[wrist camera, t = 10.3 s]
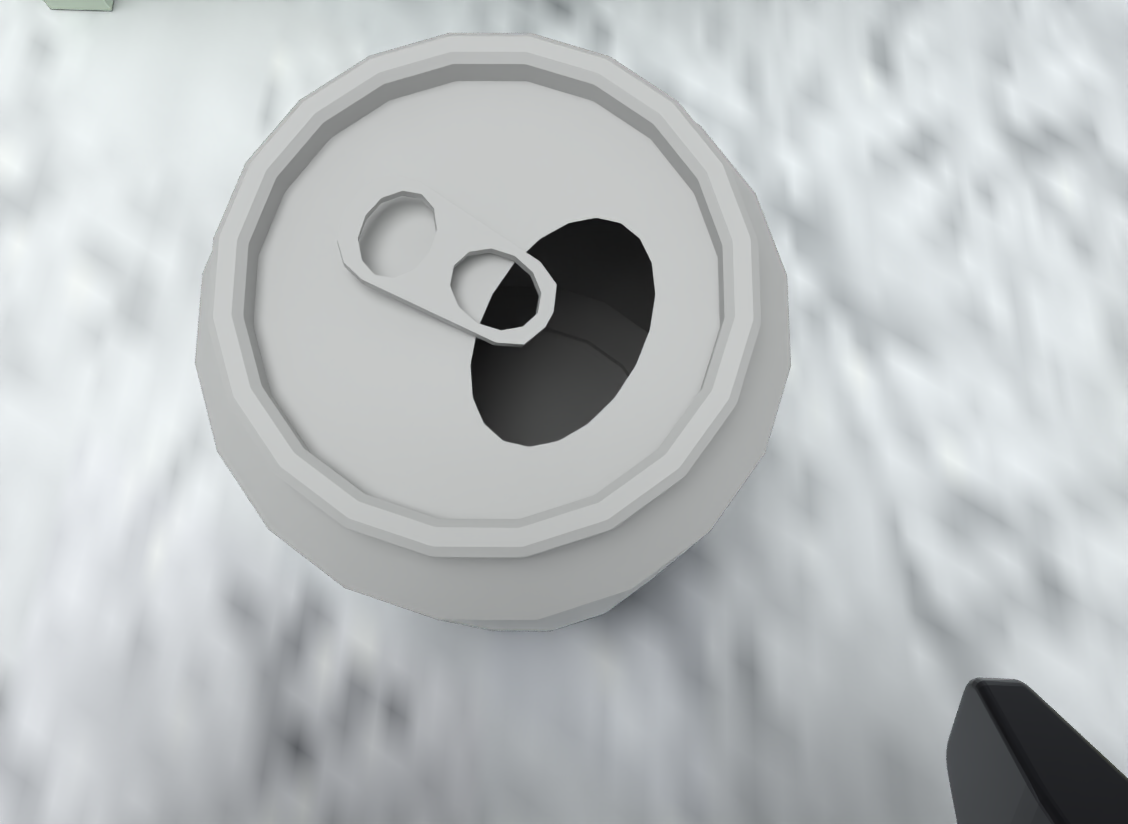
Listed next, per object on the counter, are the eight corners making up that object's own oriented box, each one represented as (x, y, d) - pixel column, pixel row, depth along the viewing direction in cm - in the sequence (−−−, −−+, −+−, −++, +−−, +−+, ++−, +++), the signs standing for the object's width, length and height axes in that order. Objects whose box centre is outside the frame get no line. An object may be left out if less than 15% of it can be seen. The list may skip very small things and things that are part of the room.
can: (601, 697, 22) (636, 754, 11) (292, 532, 23) (5, 415, 11) (753, 388, 24) (932, 135, 12) (458, 243, 24) (355, -128, 13)
